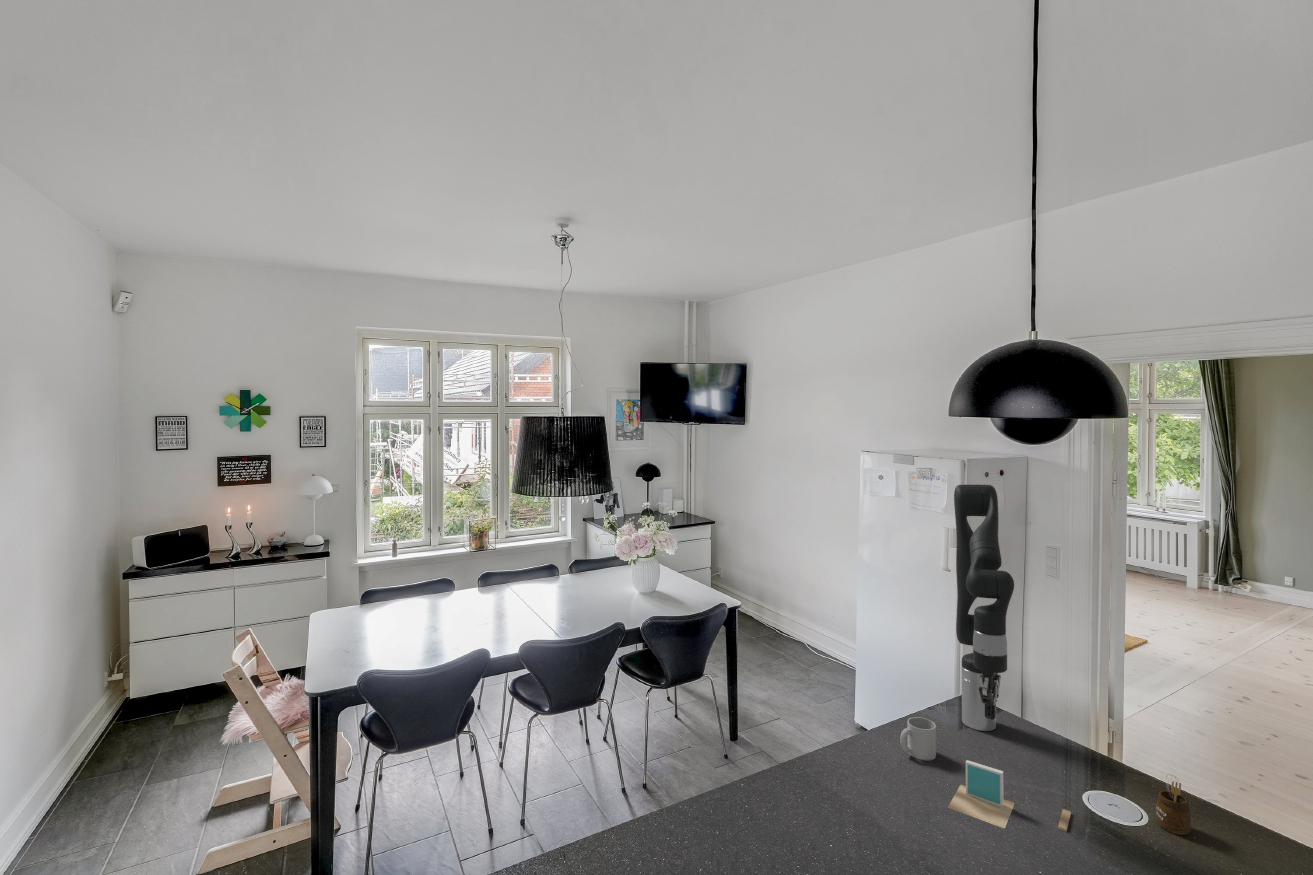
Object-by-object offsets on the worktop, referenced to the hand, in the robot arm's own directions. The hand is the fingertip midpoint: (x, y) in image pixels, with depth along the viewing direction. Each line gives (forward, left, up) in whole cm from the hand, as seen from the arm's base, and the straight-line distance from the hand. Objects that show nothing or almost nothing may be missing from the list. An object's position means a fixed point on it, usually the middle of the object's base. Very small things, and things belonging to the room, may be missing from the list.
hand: (990, 717), depth 151 cm
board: (+10, 0, -18) cm, 20 cm away
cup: (-4, -19, -18) cm, 26 cm away
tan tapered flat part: (+7, +16, -18) cm, 25 cm away
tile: (+7, 0, -17) cm, 19 cm away
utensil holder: (-9, +35, -18) cm, 40 cm away
